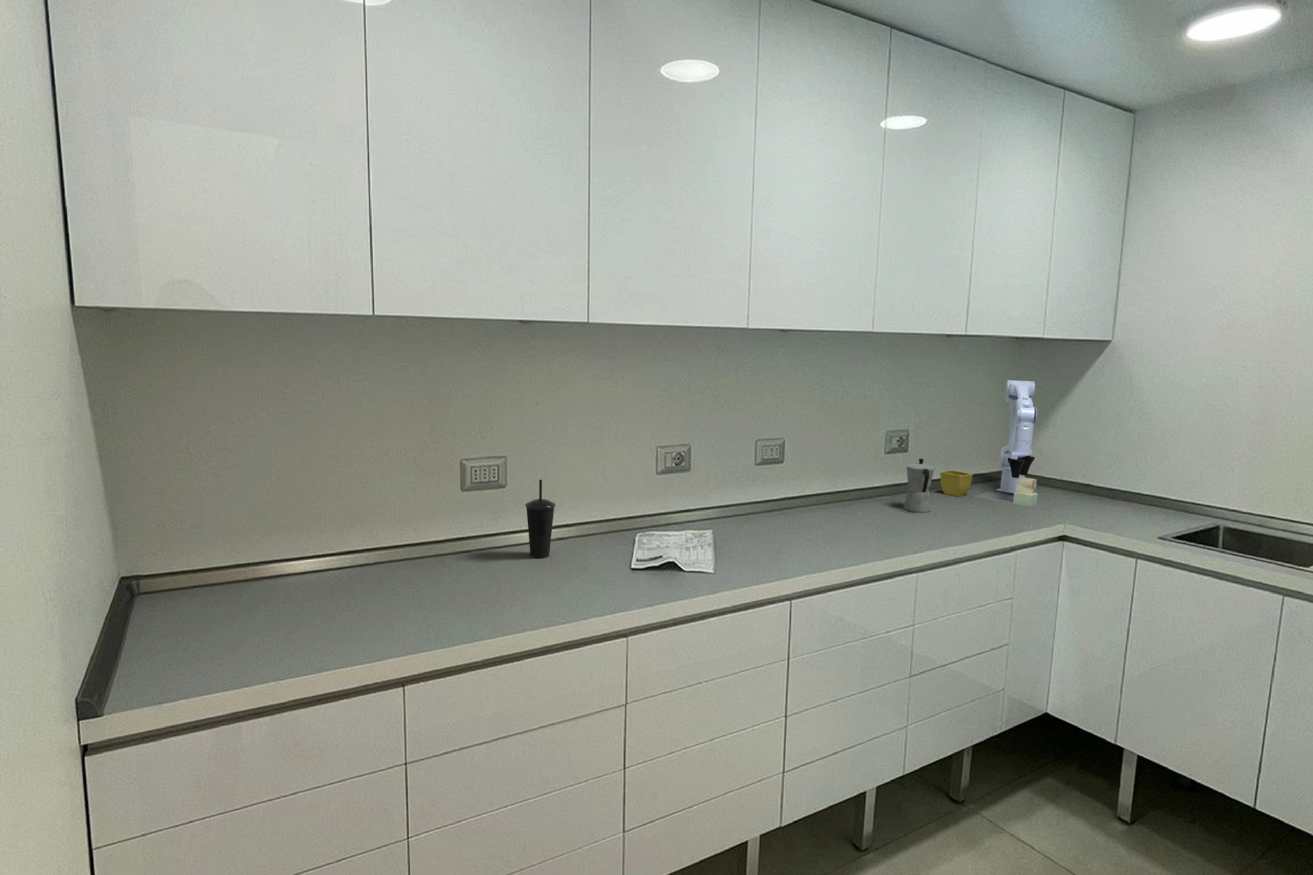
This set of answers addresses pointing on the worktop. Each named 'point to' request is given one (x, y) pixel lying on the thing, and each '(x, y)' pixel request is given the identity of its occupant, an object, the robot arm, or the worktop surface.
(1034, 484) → the birch block
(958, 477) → the flower pot
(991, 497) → the play mat
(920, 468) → the coffeepot
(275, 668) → the worktop surface
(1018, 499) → the sage brick
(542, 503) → the drinking cup
